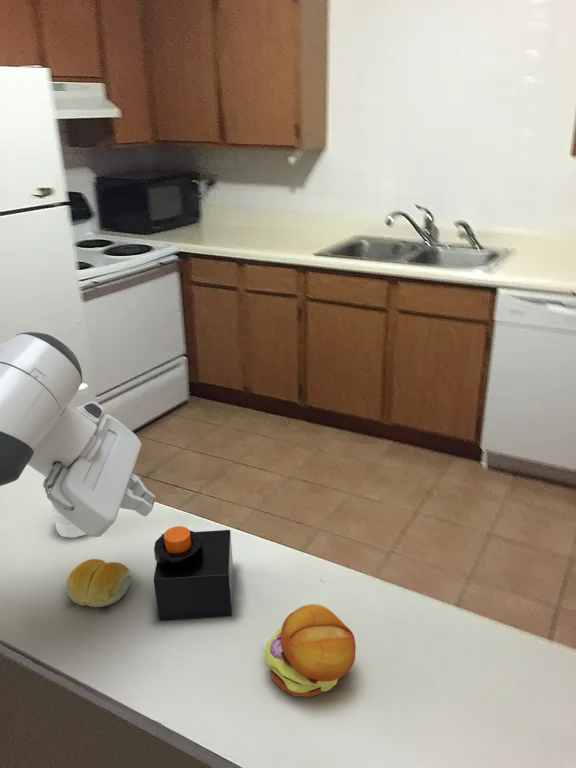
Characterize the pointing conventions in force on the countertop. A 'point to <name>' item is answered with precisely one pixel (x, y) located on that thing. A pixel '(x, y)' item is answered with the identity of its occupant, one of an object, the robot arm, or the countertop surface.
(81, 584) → the bread roll
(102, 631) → the countertop surface
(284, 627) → the cheeseburger
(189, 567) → the black push button box
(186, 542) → the orange button cap
